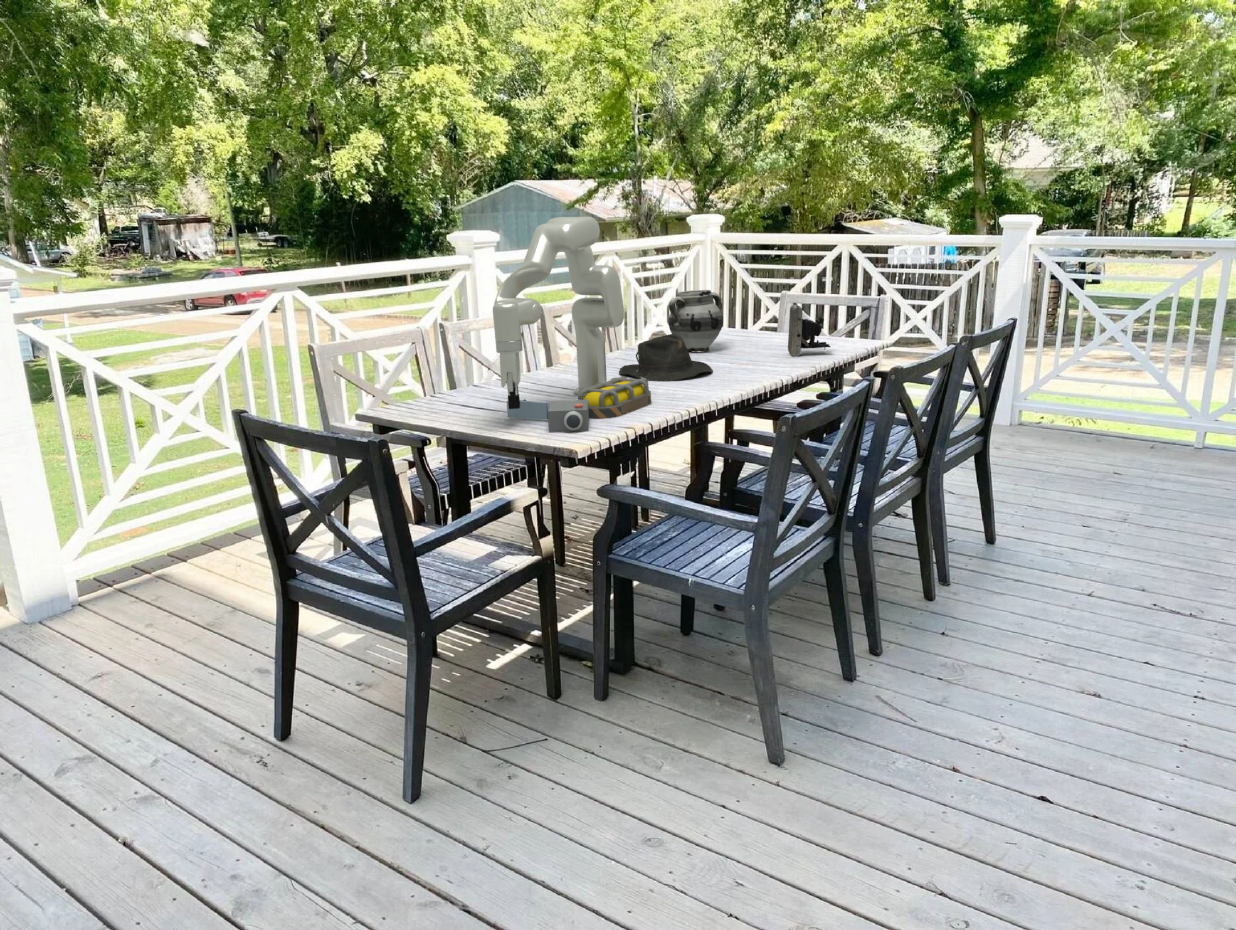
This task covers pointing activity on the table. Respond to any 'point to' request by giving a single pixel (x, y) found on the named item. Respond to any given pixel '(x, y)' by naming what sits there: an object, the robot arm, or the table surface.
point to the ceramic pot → (696, 318)
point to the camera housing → (568, 415)
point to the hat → (664, 361)
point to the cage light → (616, 397)
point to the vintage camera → (803, 332)
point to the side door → (530, 410)
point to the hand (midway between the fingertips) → (514, 408)
